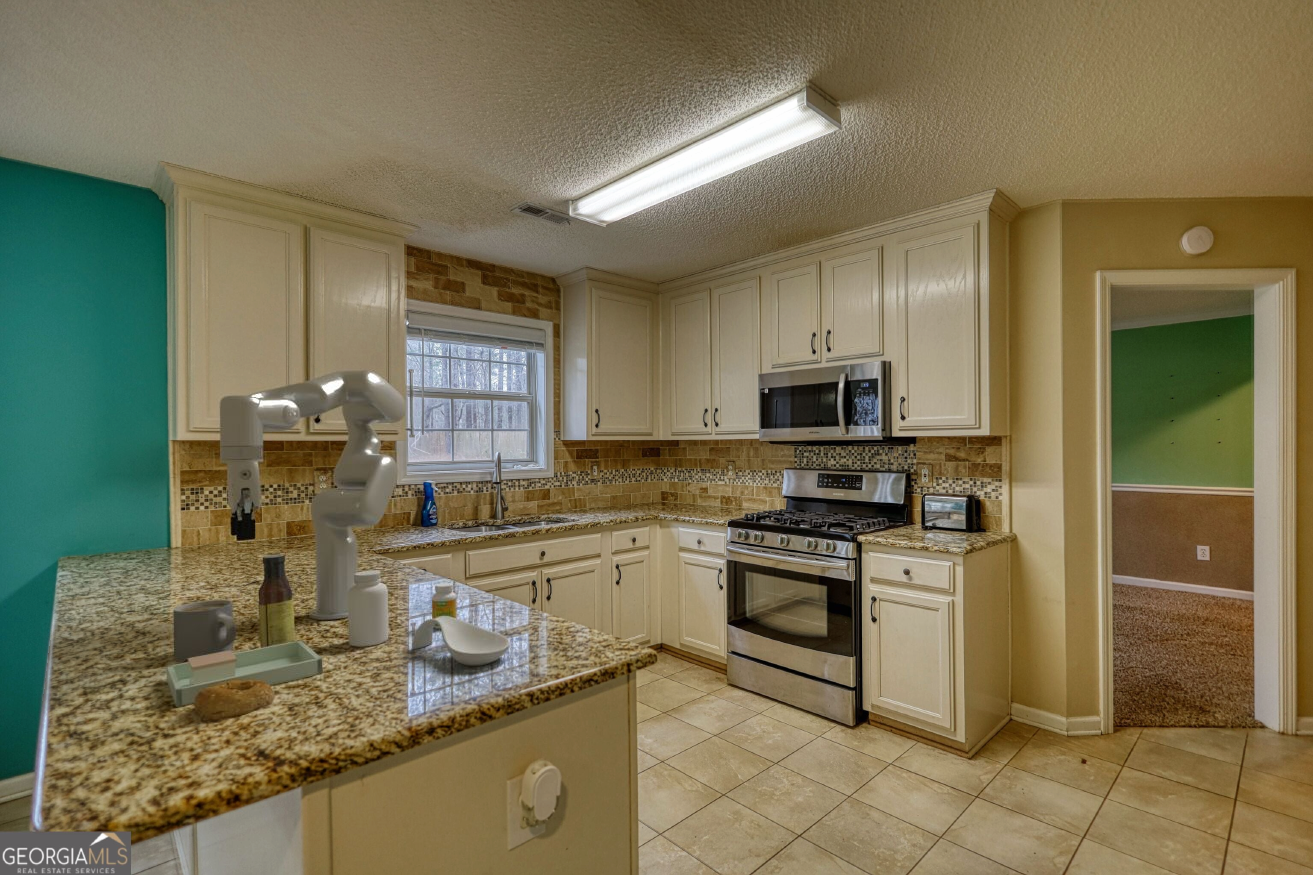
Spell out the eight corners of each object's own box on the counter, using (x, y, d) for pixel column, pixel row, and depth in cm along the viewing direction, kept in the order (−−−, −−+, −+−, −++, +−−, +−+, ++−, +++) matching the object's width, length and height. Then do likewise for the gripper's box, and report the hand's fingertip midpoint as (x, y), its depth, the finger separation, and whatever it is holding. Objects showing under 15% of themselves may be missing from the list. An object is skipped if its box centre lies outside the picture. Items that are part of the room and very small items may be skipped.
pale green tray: (300, 655, 129) (300, 640, 129) (322, 675, 118) (322, 658, 118) (167, 683, 115) (166, 666, 115) (176, 709, 103) (176, 689, 103)
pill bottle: (339, 645, 136) (338, 574, 136) (369, 634, 143) (368, 567, 144) (367, 649, 133) (367, 577, 133) (396, 638, 140) (396, 570, 141)
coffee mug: (164, 657, 130) (164, 608, 130) (218, 643, 138) (218, 597, 138) (196, 668, 123) (195, 616, 123) (251, 653, 131) (250, 604, 132)
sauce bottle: (301, 646, 136) (300, 552, 136) (281, 656, 129) (280, 558, 130) (272, 645, 136) (272, 552, 136) (251, 655, 130) (250, 557, 130)
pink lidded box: (230, 675, 117) (230, 649, 118) (237, 684, 113) (236, 658, 113) (187, 684, 113) (187, 658, 113) (192, 694, 108) (192, 667, 108)
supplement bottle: (434, 630, 146) (433, 587, 146) (430, 624, 151) (430, 583, 151) (458, 627, 148) (457, 585, 149) (454, 621, 153) (453, 581, 153)
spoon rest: (522, 658, 127) (522, 621, 127) (477, 676, 117) (476, 637, 117) (442, 640, 139) (442, 607, 140) (395, 655, 129) (395, 620, 130)
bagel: (265, 717, 100) (264, 686, 100) (182, 728, 97) (182, 696, 97) (282, 694, 110) (281, 667, 110) (207, 704, 106) (207, 675, 107)
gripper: (269, 454, 129) (270, 539, 128) (256, 454, 142) (257, 531, 142) (224, 455, 124) (225, 544, 124) (216, 455, 137) (216, 534, 137)
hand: (242, 537), depth 133 cm, fingers open, 9 cm apart
